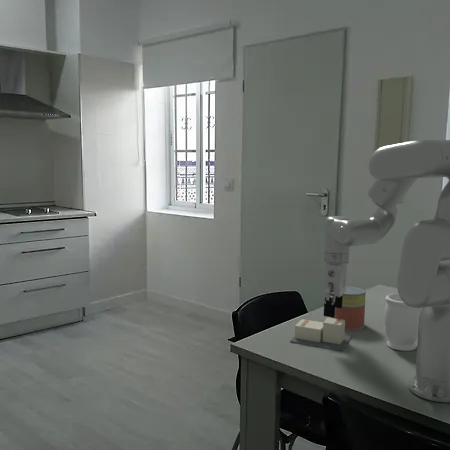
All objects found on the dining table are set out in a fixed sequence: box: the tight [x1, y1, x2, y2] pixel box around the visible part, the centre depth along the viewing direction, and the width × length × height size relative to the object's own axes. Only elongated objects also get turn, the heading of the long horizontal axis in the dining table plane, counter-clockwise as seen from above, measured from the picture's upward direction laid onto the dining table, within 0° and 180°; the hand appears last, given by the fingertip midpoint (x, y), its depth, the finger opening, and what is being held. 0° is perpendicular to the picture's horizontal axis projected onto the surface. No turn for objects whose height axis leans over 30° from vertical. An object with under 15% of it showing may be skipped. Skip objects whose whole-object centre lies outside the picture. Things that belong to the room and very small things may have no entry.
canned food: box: [330, 285, 367, 331], centre depth 168 cm, size 11×11×12 cm
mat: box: [289, 333, 353, 352], centre depth 155 cm, size 14×16×1 cm
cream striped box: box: [294, 318, 324, 342], centre depth 156 cm, size 7×8×4 cm
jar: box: [383, 293, 422, 352], centre depth 148 cm, size 11×10×15 cm
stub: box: [323, 317, 346, 344], centre depth 152 cm, size 6×5×6 cm
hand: (333, 311), depth 152 cm, fingers open, 9 cm apart
